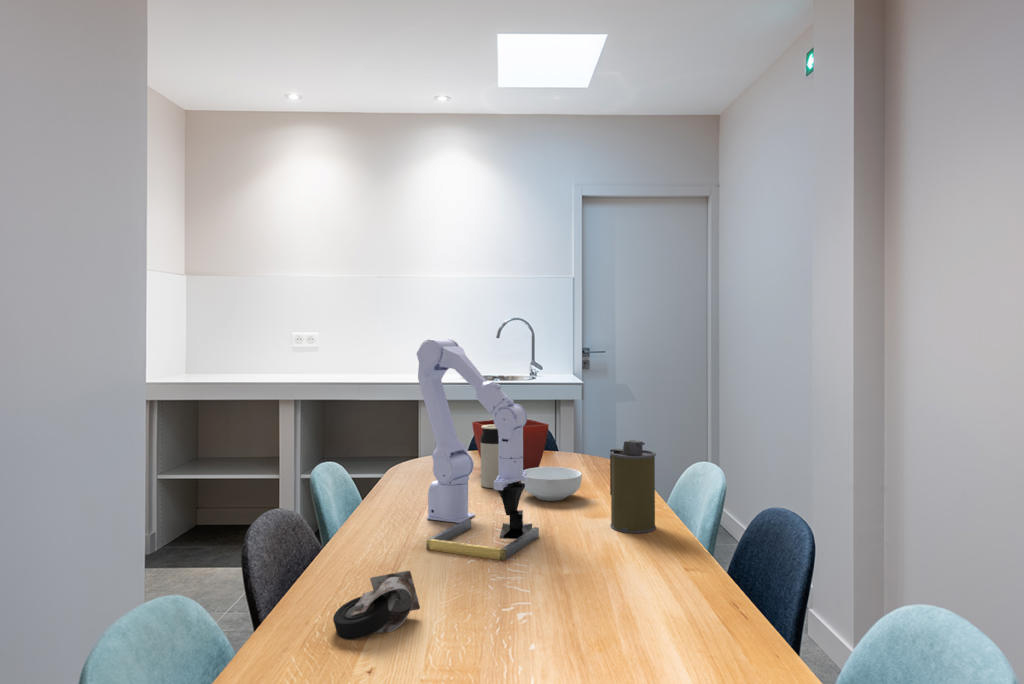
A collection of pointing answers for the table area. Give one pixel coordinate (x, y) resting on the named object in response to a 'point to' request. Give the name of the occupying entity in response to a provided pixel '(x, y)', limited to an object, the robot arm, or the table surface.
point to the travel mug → (489, 455)
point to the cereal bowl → (552, 482)
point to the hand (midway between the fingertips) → (511, 514)
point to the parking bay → (442, 544)
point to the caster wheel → (378, 607)
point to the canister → (632, 488)
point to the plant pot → (531, 441)
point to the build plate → (514, 526)
